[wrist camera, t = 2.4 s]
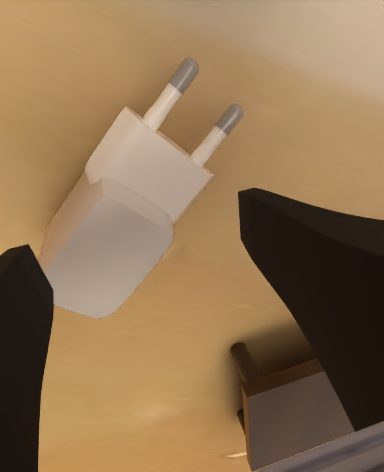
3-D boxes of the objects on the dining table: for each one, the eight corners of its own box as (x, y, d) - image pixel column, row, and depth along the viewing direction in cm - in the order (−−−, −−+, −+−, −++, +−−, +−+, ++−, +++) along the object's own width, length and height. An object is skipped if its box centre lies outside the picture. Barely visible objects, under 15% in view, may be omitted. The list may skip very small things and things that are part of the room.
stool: (366, 298, 28) (411, 341, 24) (343, 380, 36) (375, 424, 32) (224, 343, 26) (247, 398, 22) (233, 420, 34) (251, 472, 30)
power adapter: (156, 37, 13) (188, 34, 9) (229, 109, 16) (287, 138, 11) (33, 224, 16) (7, 299, 12) (111, 260, 19) (116, 334, 14)
